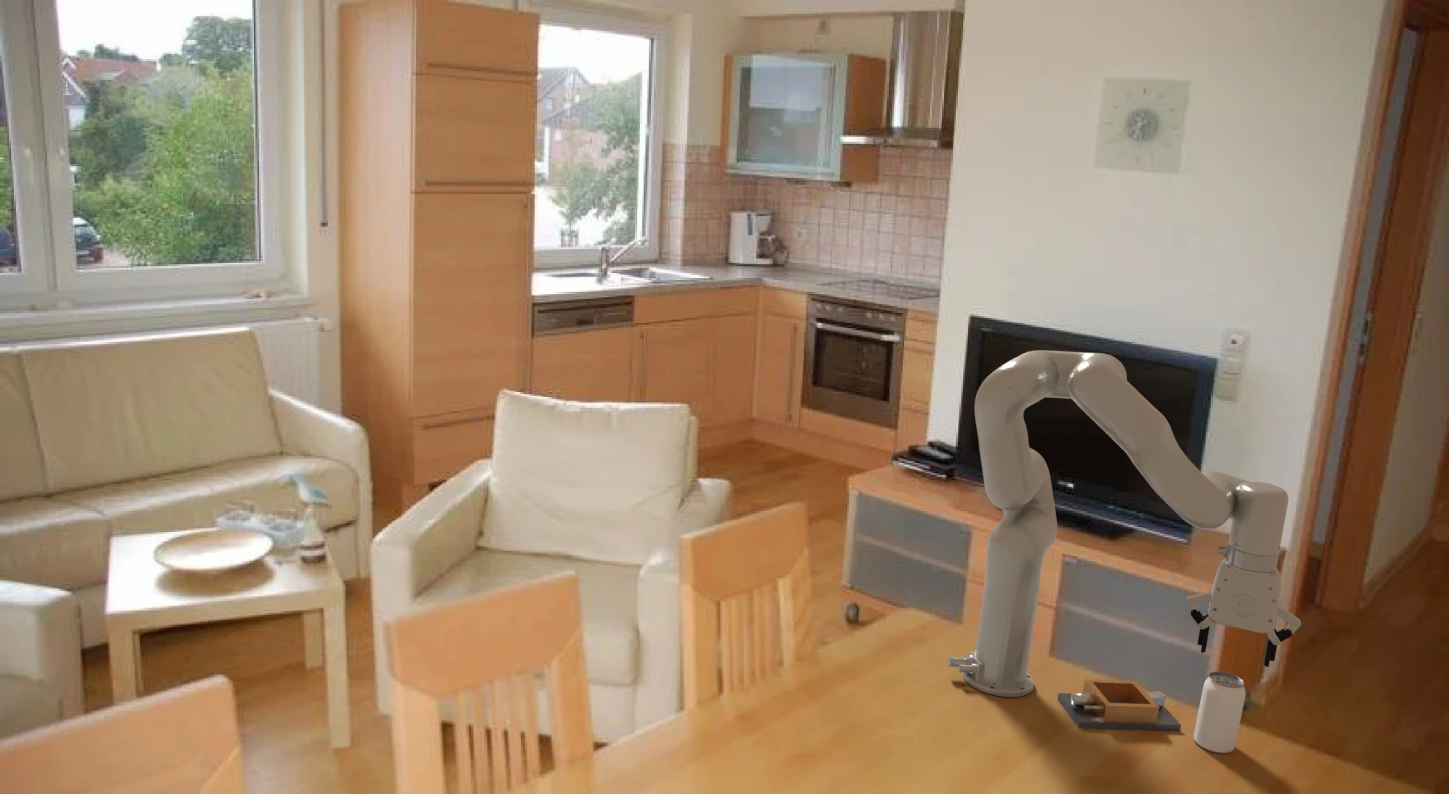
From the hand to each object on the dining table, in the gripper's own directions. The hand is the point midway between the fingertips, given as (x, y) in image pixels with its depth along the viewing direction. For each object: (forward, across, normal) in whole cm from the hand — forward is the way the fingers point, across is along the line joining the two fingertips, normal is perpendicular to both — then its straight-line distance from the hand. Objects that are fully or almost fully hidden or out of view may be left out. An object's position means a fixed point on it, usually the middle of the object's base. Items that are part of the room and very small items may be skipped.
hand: (1234, 656), depth 192 cm
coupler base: (+16, -17, +1) cm, 23 cm away
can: (+16, -1, 0) cm, 16 cm away
